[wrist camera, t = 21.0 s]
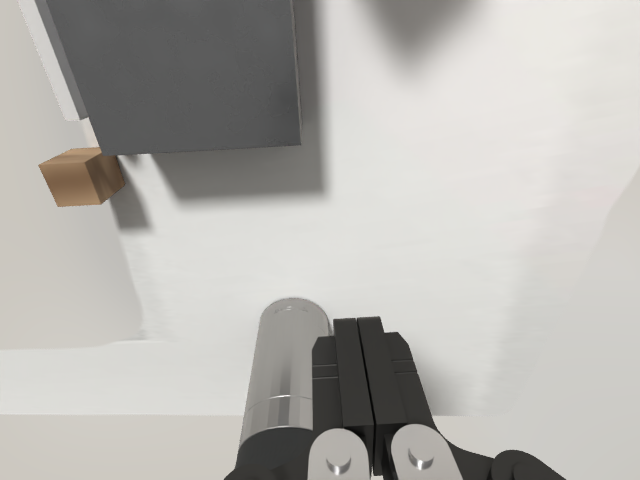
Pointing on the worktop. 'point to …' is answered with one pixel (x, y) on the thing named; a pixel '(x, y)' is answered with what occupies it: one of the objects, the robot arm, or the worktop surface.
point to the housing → (184, 72)
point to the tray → (53, 58)
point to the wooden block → (82, 177)
